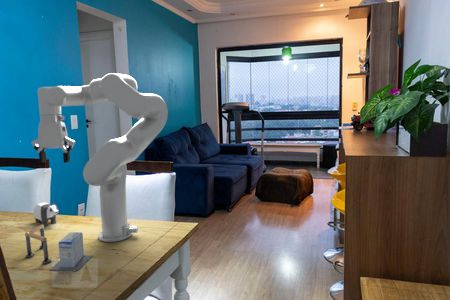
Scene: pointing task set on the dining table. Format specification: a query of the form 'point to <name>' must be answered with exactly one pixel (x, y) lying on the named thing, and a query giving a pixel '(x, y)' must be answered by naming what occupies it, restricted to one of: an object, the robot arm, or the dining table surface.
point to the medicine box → (71, 249)
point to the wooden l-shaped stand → (38, 237)
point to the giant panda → (45, 213)
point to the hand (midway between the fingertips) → (55, 162)
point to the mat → (76, 268)
